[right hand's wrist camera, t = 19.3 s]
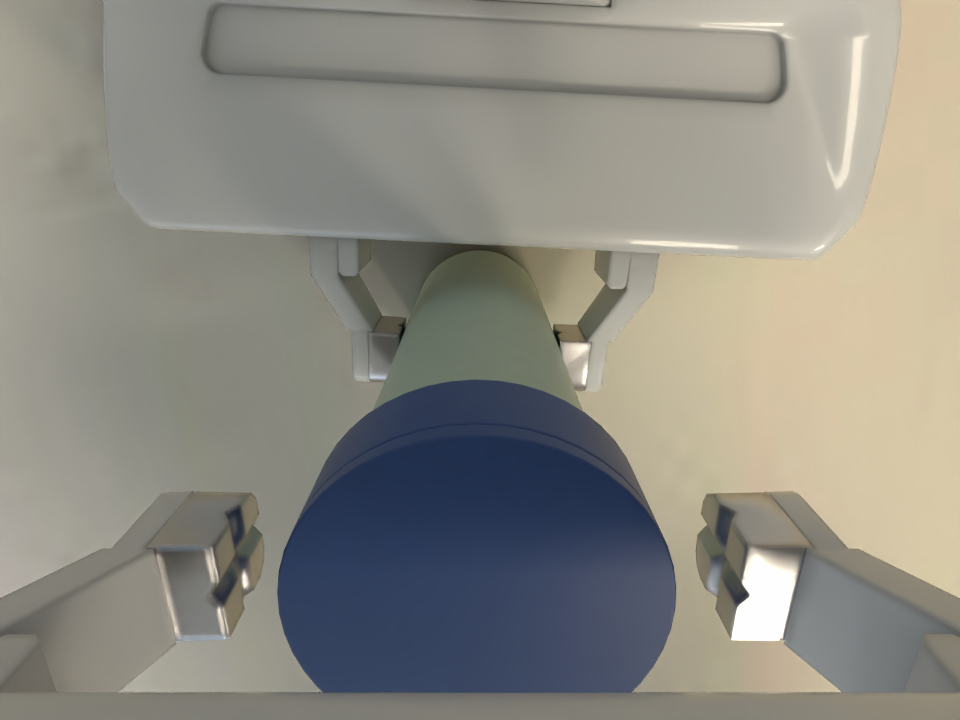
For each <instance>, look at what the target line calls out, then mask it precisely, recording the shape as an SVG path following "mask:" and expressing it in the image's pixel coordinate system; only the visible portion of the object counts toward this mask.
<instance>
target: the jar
mask: <svg viewBox="0 0 960 720" xmlns="http://www.w3.org/2000/svg"><path fill="white" fill-rule="evenodd" d="M474 379H475V380H496V381H504V382H509V383H515V384H521V385H525V386H528V387H531V388H535V389H538V390H541V391H545V392H547V393H549V394H551V395H554V396H556V397H558V398H560V399H563V400H565V401H567V402H568V403H570V404H572V405H573V406H575V407H576V408H578V409H580V410H581V411H583V410H582V408H581V405H580V402H579V400H578V397H577V394H576V392H575V389H574V386H573V384H572V381H571V379H570V376H569V373H568V371H567V368H566V365H565V363H564V360H563V357H562V355H561V352H560V349H559V347H558V344H557V341H556V339H555V336H554V333H553V331H552V328H551V325H550V323H549V320H548V318H547V315H546V312H545V310H544V307H543V304H542V302H541V299H540V296H539V294H538V291H537V289H536V286H535V284H534V282H533V280H532V279H531V277H530V276H529V274H528V273H527V272H526V271H525V270H524V269H523V268H522V267H521V266H520V265H519V264H518V263H516V262H515V261H514V260H512V259H510V258H508V257H506V256H504V255H502V254H499V253H496V252H491V251H484V250H473V251H467V252H463V253H459V254H456V255H454V256H452V257H450V258H448V259H446V260H445V261H443V262H442V263H440V264H439V265H438V266H437V267H436V268H435V269H434V270H433V271H432V272H431V273H430V275H429V276H428V277H427V279H426V281H425V283H424V284H423V286H422V289H421V291H420V294H419V296H418V299H417V301H416V304H415V307H414V309H413V312H412V314H411V317H410V319H409V322H408V324H407V327H406V329H405V332H404V334H403V337H402V339H401V342H400V344H399V347H398V350H397V352H396V355H395V357H394V360H393V362H392V365H391V367H390V370H389V372H388V375H387V377H386V380H385V382H384V385H383V388H382V390H381V393H380V395H379V398H378V400H377V403H376V405H375V408H374V410H375V409H376V408H378V407H379V406H381V405H382V404H384V403H386V402H388V401H390V400H392V399H394V398H396V397H398V396H400V395H402V394H404V393H407V392H410V391H413V390H416V389H419V388H422V387H425V386H429V385H434V384H439V383H444V382H449V381H461V380H474Z"/></svg>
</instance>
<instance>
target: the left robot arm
mask: <svg viewBox="0 0 960 720" xmlns="http://www.w3.org/2000/svg"><path fill="white" fill-rule="evenodd" d="M102 1H103V3H104V7H103V74H104V97H105V114H106V128H107V139H108V149H109V159H110V166H111V172H112V178H113V181H114V185H115V188H116V190H117V191H118V193H119V194H120V195H121V196H122V197H123V199H124V200H125V201H126V202H127V203H128V205H129V206H130V207H131V208H132V209H133V210H134V212H135V213H136V214H137V215H138V216H139V217H140V218H141V219H142V220H143V221H144V222H145V223H146V224H147V225H148V226H150V227H153V228H157V229H169V230H190V231H210V232H231V233H251V234H272V235H292V236H309V246H310V264H311V276H312V277H313V279H314V280H315V282H316V283H317V285H318V286H319V288H320V289H321V291H322V292H323V294H324V296H325V297H326V299H327V300H328V302H329V303H330V305H331V306H332V308H333V309H334V311H335V312H336V314H337V315H338V317H339V318H340V320H341V322H342V323H343V325H344V326H345V328H346V329H347V331H352V358H353V376H354V379H355V381H364V382H371V381H372V382H385V380H386V377H387V375H388V372H389V370H390V367H391V365H392V362H393V360H394V357H395V355H396V352H397V350H398V347H399V344H400V342H401V339H402V337H403V334H404V332H405V329H406V317H392V316H381V315H382V314H381V312H380V310H379V308H378V307H377V305H376V303H375V301H374V300H373V298H372V296H371V294H370V292H369V291H368V289H367V287H366V285H365V284H364V282H363V280H362V278H361V276H360V275H359V272H360V270H361V269H362V268H363V267H364V266H365V265H366V264H367V263H368V262H369V261H370V260H371V239H374V240H395V241H415V242H436V243H456V244H476V245H497V246H517V247H538V248H558V249H579V250H596V256H595V266H594V270H595V272H596V273H597V274H598V275H599V276H600V278H601V279H602V280H603V281H604V282H605V283H606V284H605V285H604V287H603V288H602V290H601V291H600V292H599V294H598V295H597V297H596V298H595V300H594V301H593V302H592V304H591V305H590V307H589V308H588V310H587V311H586V312H585V314H584V315H583V317H582V318H581V320H580V321H579V322H578V325H557V324H554V326H553V333H554V336H555V339H556V341H557V344H558V347H559V349H560V352H561V355H562V357H563V360H564V363H565V365H566V368H567V371H568V373H569V376H570V379H571V381H572V384H573V386H574V389H575V391H591V392H599V391H600V389H601V386H602V381H603V374H604V366H605V359H606V351H607V344H608V343H612V342H613V341H614V339H615V338H616V337H617V336H618V334H619V333H620V332H621V331H622V330H623V328H624V327H625V326H626V325H627V323H628V322H629V321H630V320H631V318H632V317H633V316H634V315H635V313H636V312H637V311H638V310H639V308H640V307H641V306H642V305H643V303H644V302H645V301H646V300H647V299H648V297H649V296H650V295H651V294H652V292H653V288H654V282H655V276H656V270H657V263H658V257H659V253H661V254H681V255H702V256H722V257H743V258H763V259H784V260H805V261H812V260H817V259H819V258H821V257H822V256H824V255H825V254H826V253H827V252H828V251H830V250H831V249H832V248H833V247H834V246H835V245H836V244H837V243H838V242H839V241H841V240H842V239H843V238H844V237H845V236H846V235H847V234H848V233H849V232H850V231H851V230H852V229H853V228H854V226H855V225H856V223H857V222H858V220H859V218H860V216H861V213H862V211H863V209H864V206H865V202H866V199H867V196H868V193H869V190H870V186H871V182H872V179H873V175H874V171H875V167H876V163H877V159H878V155H879V151H880V146H881V142H882V137H883V133H884V129H885V124H886V119H887V114H888V109H889V104H890V99H891V94H892V89H893V83H894V77H895V71H896V65H897V58H898V51H899V44H900V34H901V0H102Z"/></svg>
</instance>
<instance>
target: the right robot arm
mask: <svg viewBox="0 0 960 720" xmlns="http://www.w3.org/2000/svg"><path fill="white" fill-rule="evenodd" d="M258 515H259V511H258V506H257V501H256V497H255V496H254V495H253V494H252V493H235V492H193V491H188V492H166V493H162V494H161V495H160V496H159V497H158V498H157V499H156V500H155V501H154V502H153V504H152V505H151V506H150V507H149V508H148V509H147V510H146V511H145V512H144V513H143V515H142V516H141V517H140V518H139V519H138V520H137V521H136V522H135V523H134V524H133V526H132V527H131V528H130V529H129V530H128V531H127V532H126V533H125V534H124V535H123V537H122V538H121V539H120V540H119V541H118V542H117V543H116V544H115V545H114V546H113V548H112V549H101V550H99V551H97V552H95V553H92V554H90V555H88V556H86V557H84V558H82V559H80V560H78V561H76V562H74V563H72V564H70V565H68V566H66V567H64V568H62V569H60V570H57V571H55V572H53V573H51V574H49V575H47V576H45V577H43V578H41V579H39V580H37V581H35V582H33V583H31V584H29V585H27V586H25V587H23V588H20V589H18V590H16V591H14V592H12V593H10V594H8V595H6V596H4V597H2V598H0V720H960V598H958V597H956V596H954V595H952V594H950V593H947V592H945V591H943V590H941V589H939V588H937V587H935V586H933V585H931V584H929V583H927V582H925V581H923V580H921V579H919V578H917V577H915V576H913V575H911V574H909V573H906V572H904V571H902V570H900V569H898V568H896V567H894V566H892V565H890V564H888V563H886V562H884V561H882V560H880V559H878V558H876V557H874V556H872V555H870V554H868V553H865V552H863V551H861V550H859V549H848V548H847V546H846V545H845V544H844V543H843V542H842V541H841V540H840V539H839V538H838V537H837V535H836V534H835V533H834V532H833V531H832V530H831V529H830V528H829V527H828V526H827V524H826V523H825V522H824V521H823V520H822V519H821V518H820V517H819V516H818V515H817V513H816V512H815V511H814V510H813V509H812V508H811V507H810V506H809V505H808V504H807V502H806V501H805V500H804V499H803V498H802V497H801V496H800V495H799V494H797V493H795V492H793V491H782V492H763V493H717V494H706V496H705V498H704V501H703V505H702V510H701V515H702V516H703V518H704V520H705V522H706V523H707V526H706V527H705V528H704V529H703V530H702V531H701V532H700V533H699V534H698V535H697V544H696V561H697V568H698V572H699V575H700V578H701V580H702V583H703V585H704V587H705V589H706V590H708V591H709V592H711V593H712V594H713V595H715V596H716V597H717V603H716V611H717V613H718V615H719V617H720V619H721V621H722V622H723V624H724V626H725V628H726V630H727V632H728V634H729V636H730V638H731V640H757V641H784V644H785V645H786V646H787V647H788V648H790V649H791V650H792V651H793V652H794V653H796V654H797V655H798V656H799V657H800V658H802V659H803V660H804V661H805V662H806V663H808V664H809V665H810V666H811V667H813V668H814V669H815V670H816V671H817V672H819V673H820V674H821V675H822V676H823V677H825V678H826V679H827V680H828V681H829V682H831V683H832V684H833V685H834V686H835V687H837V688H838V689H839V690H840V691H841V692H792V693H417V692H281V693H120V692H119V691H120V690H121V689H122V688H124V687H125V686H126V685H127V684H128V683H130V682H131V681H132V680H133V679H134V678H136V677H137V676H138V675H139V674H140V673H142V672H143V671H144V670H145V669H146V668H148V667H149V666H150V665H151V664H153V663H154V662H155V661H156V660H157V659H159V658H160V657H161V656H162V655H163V654H165V653H166V652H167V651H168V650H169V649H171V648H172V647H173V646H174V645H175V644H176V641H202V640H229V638H230V636H231V634H232V632H233V630H234V628H235V626H236V624H237V623H238V621H239V619H240V617H241V615H242V613H243V611H244V603H243V597H244V596H245V595H247V594H248V593H249V592H251V591H252V590H254V589H255V587H256V585H257V582H258V580H259V578H260V576H261V571H262V567H263V562H264V542H263V535H262V534H261V533H260V532H259V531H258V530H257V529H256V528H255V527H254V526H253V523H254V522H255V520H256V518H257V516H258Z"/></svg>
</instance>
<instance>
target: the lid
mask: <svg viewBox="0 0 960 720" xmlns="http://www.w3.org/2000/svg"><path fill="white" fill-rule="evenodd" d="M277 594H278V605H279V615H280V618H281V622H282V626H283V630H284V634H285V636H286V639H287V641H288V643H289V646H290V648H291V650H292V652H293V654H294V656H295V657H296V659H297V661H298V662H299V664H300V665H301V667H302V669H303V670H304V672H305V673H306V674H307V675H308V676H309V678H310V679H311V680H312V681H313V682H314V684H315V685H316V686H317V687H318V688H319V689H320V690H321V691H322V692H417V693H631V692H632V691H633V690H634V689H635V688H636V687H637V686H638V685H639V684H640V683H641V682H642V680H643V679H644V678H645V676H646V675H647V674H648V673H649V671H650V670H651V669H652V667H653V666H654V664H655V662H656V661H657V659H658V657H659V655H660V654H661V652H662V650H663V648H664V646H665V643H666V640H667V638H668V635H669V633H670V630H671V626H672V621H673V616H674V612H675V600H676V582H675V574H674V566H673V563H672V559H671V556H670V553H669V549H668V546H667V544H666V542H665V539H664V537H663V535H662V533H661V531H660V529H659V526H658V524H657V522H656V520H655V518H654V515H653V513H652V511H651V509H650V507H649V505H648V502H647V500H646V498H645V496H644V494H643V492H642V489H641V487H640V485H639V483H638V481H637V479H636V476H635V474H634V472H633V470H632V468H631V466H630V464H629V462H628V460H627V458H626V456H625V455H624V453H623V452H622V450H621V449H620V448H619V446H618V445H617V443H616V442H615V440H614V439H613V438H612V437H611V436H610V435H609V434H608V433H607V432H606V431H605V430H604V429H603V428H602V426H601V425H599V424H598V423H597V422H596V421H594V420H593V419H592V418H591V417H589V416H588V415H587V414H586V413H585V412H583V411H581V410H580V409H578V408H576V407H575V406H573V405H572V404H570V403H568V402H567V401H565V400H563V399H560V398H558V397H556V396H554V395H551V394H549V393H547V392H545V391H541V390H538V389H535V388H531V387H528V386H525V385H521V384H515V383H509V382H504V381H496V380H475V379H474V380H461V381H449V382H444V383H439V384H434V385H429V386H425V387H422V388H419V389H416V390H413V391H410V392H407V393H404V394H402V395H400V396H398V397H396V398H394V399H392V400H390V401H388V402H386V403H384V404H382V405H381V406H379V407H378V408H376V409H375V410H373V411H372V412H370V413H369V414H367V415H366V416H365V417H363V418H362V419H361V420H360V421H359V422H358V423H356V424H355V425H354V426H353V427H352V428H351V429H350V430H349V431H348V432H347V433H346V434H345V435H344V437H343V438H342V439H341V440H340V441H339V442H338V444H337V445H336V446H335V448H334V449H333V451H332V453H331V454H330V456H329V457H328V459H327V461H326V462H325V464H324V466H323V469H322V471H321V473H320V475H319V477H318V479H317V481H316V483H315V485H314V487H313V489H312V491H311V493H310V496H309V498H308V500H307V502H306V504H305V506H304V508H303V510H302V512H301V514H300V517H299V518H298V521H297V523H296V525H295V527H294V529H293V531H292V533H291V536H290V538H289V540H288V543H287V545H286V547H285V549H284V553H283V557H282V561H281V565H280V569H279V577H278V590H277Z"/></svg>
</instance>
